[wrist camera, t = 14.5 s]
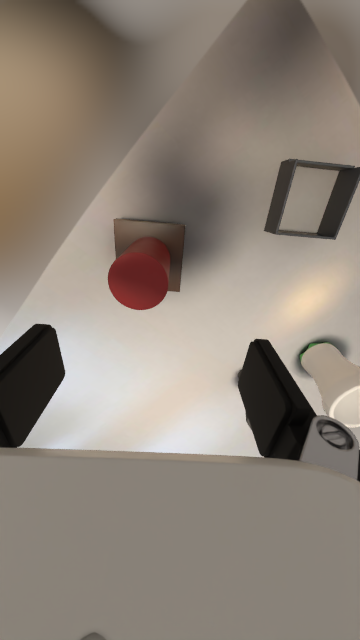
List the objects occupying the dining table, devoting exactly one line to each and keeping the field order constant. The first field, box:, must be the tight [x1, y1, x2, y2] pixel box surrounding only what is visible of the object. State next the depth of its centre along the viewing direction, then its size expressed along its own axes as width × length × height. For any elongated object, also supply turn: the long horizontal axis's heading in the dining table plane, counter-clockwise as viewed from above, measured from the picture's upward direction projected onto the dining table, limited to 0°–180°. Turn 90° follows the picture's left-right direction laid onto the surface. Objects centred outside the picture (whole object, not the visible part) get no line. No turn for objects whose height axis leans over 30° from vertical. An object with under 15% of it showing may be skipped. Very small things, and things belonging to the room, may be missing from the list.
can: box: [108, 237, 170, 310], centre depth 28 cm, size 6×6×11 cm
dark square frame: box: [264, 159, 360, 240], centre depth 32 cm, size 9×9×4 cm
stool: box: [114, 219, 185, 292], centre depth 35 cm, size 10×10×5 cm
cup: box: [300, 342, 360, 427], centre depth 42 cm, size 11×11×14 cm
